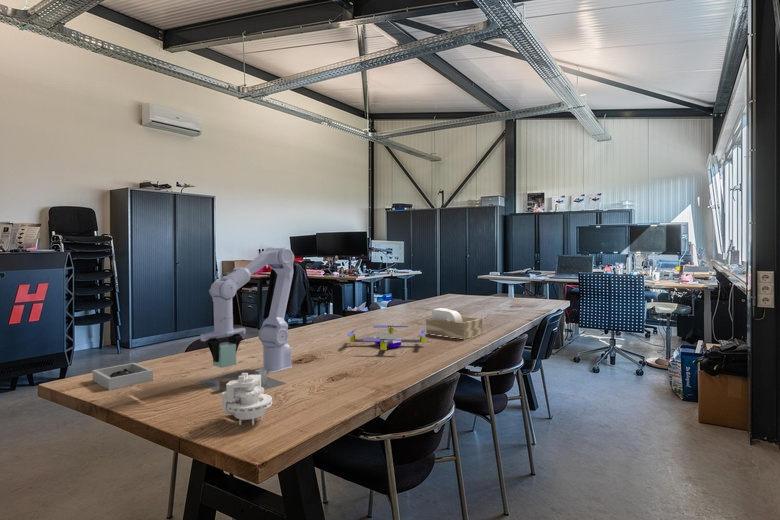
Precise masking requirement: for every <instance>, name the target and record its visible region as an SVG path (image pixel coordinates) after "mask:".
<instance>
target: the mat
mask: <svg viewBox="0 0 780 520" xmlns="http://www.w3.org/2000/svg"><path fill="white" fill-rule="evenodd" d="M242 373H248V375H255V372H253V371H249V370H242V371H239V372H238V371H237V372H235V373H229V374H226V375H225V374H224V375H222V376H216V377H213V378H208V379H204V380H200V381H199V380H198V381H196V383H197V384H199V385H202V386H205V387H206V388H209V389H211V390H214V391H217V392H219V393H221V394H222V393H223V391H220V384H219V380H223V379H230V380H232V381H234V380H238V377H239V376H242ZM287 384H288V383H287V382H284V381H281V380H277V379H275V378H272V377H268V376H267V386H265V387H263V388H264V391H265V390H269V389H272V388H276V387H278V386H279V387H280V386H282V385H287Z"/></svg>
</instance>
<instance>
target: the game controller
mask: <svg viewBox="0 0 780 520" xmlns="http://www.w3.org/2000/svg"><path fill="white" fill-rule="evenodd" d="M131 373H132V372H131V371H128V370H127V369H124V370H123V371H117V372H114V373H112V374H111V375H110V377H111V378H113V377H118V376H123V375H128V374H131Z"/></svg>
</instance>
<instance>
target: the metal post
mask: <svg viewBox="0 0 780 520" xmlns="http://www.w3.org/2000/svg"><path fill="white" fill-rule="evenodd" d="M254 373H255V375H261V387H265V386H267V377H268V376H267V370H265V369H259V368H258V369H254Z"/></svg>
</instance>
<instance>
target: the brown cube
mask: <svg viewBox="0 0 780 520" xmlns="http://www.w3.org/2000/svg"><path fill="white" fill-rule="evenodd" d="M230 381H232V380H230V379H223V380H219V384H220V391H223V392H225V391H226V384H227V383H228V382H230Z"/></svg>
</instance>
